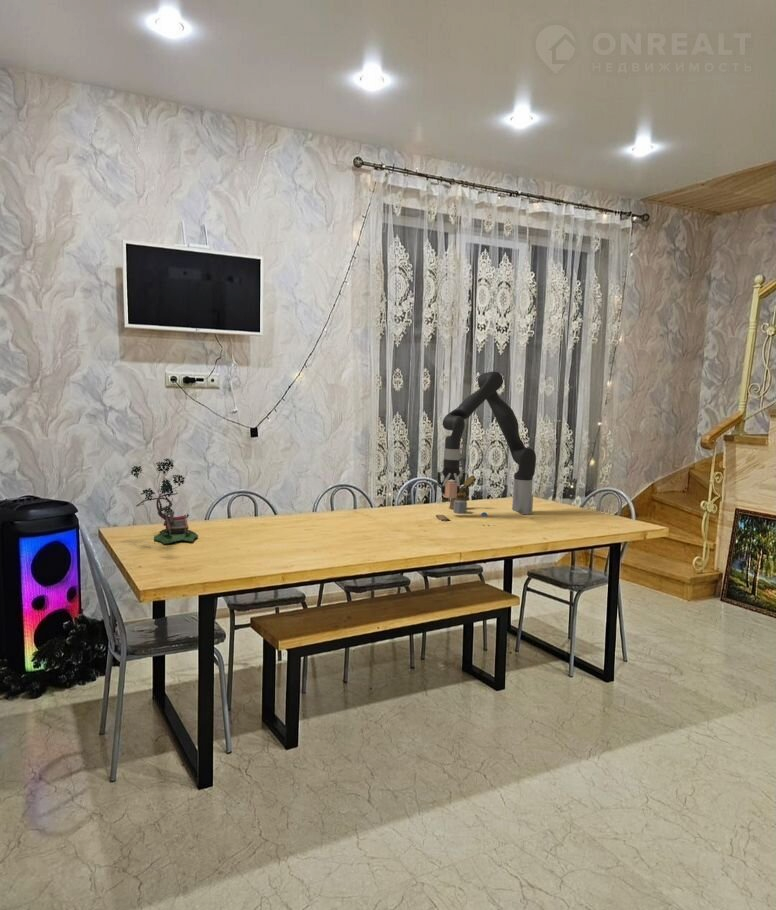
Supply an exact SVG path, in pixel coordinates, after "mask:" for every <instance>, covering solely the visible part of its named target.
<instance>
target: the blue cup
mask: <svg viewBox="0 0 776 910" xmlns="http://www.w3.org/2000/svg"><path fill="white" fill-rule="evenodd" d="M467 507H468V500H467V501H464V500H455V501H454V510H453V513H454V514H457V515H458V514H459V515H464V514H467V509H468V508H467Z"/></svg>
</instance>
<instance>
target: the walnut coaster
mask: <svg viewBox="0 0 776 910" xmlns="http://www.w3.org/2000/svg"><path fill="white" fill-rule="evenodd" d="M435 517H437V518H436V519H438V520H439V521H440V520H441V521H452V520H451V519H450V518H448V517H447V516H445V515H444V514H435ZM441 521H440V522H441Z"/></svg>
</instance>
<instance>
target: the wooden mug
mask: <svg viewBox="0 0 776 910" xmlns="http://www.w3.org/2000/svg"><path fill="white" fill-rule="evenodd" d="M473 483H475V476H474V475H470V476H468V477H467V478H465V480H464V484H463V485H464V487H462V488H459V493H458V494H457V498H450V501H449V502H450V503H449V507H448V509H449V510H453V511H454V501H455V500H464V501H467V502H468V499H469V496H470V489H469V487H470V488H471V486H472V485H473Z"/></svg>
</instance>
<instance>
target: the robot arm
mask: <svg viewBox="0 0 776 910" xmlns="http://www.w3.org/2000/svg"><path fill="white" fill-rule="evenodd" d="M503 383H504V378H503V375H502V374H501V373H500V372H499V371H489V372H487V371H486V372H483V373H481V374H480V375H479V376H478V377H477V385H478V388H479V389H477V390H476V391H474V392H473V393H471V394H470V395H469V396H468V397H466V398H465V399H464V400H463V401H462V402H461V403H460V404H459V406H458V407H457V408H455V409H453V410H452V411H450V412H448V413H447V414H446V415H445V416H444V418H443V420H442V427H443V428H444V430H445V431H452V432H451V434H450V435H447V436H446V437H445V438H444V439H445V440H444V452H443V464H442V465H443V467H442V471H436V472H435V473H436V481H437V485H439V486H441V487H440V488H441V489H440V493H442V495H443V494H445V484H446V482H447V481H454V482H456V483H457V494H458V493H459V489H461V488H460V487H461V486H463V485H464V484H465V481H466V474H467V473H466V472H464V471H460V462H461V439H462V437H463V433H464V430H465V425H466V424H465V420H467V419H469V418H470V417H471V416H472V414H474V412H475V411H476V410H477V409H478V408H479V407H480V406H481V405H482V404H483V402H485V401H487V403H488V405H489V408H490V409H491V411H492V413H493V415H494V417H495V420H496V422H497V424H498V426H499V429H500V431H501V433H502V435H503V437H504V439H505V441H506V443H507V445H508V448H509V449H508V450H509V451H510V455H511V457H512V459H513V461H514V463H516V464H517V465H518V470H517V471H516V472H514V474H513V491H512V503H511V504H512V507H511V511H514V512H516V513H519V514H521V515H523V514H526V515H532V514H533V507H534V494H533V481H534V480H533V479H534V476H535V474H536V473H535V472H536V464H537V463H536V462H537V455H536V451H535V450H534V449H533V448H531V447H526V446H525V445H524V443H523V441H522V439H521V437H520V433H519V432H520V431H519V428H520V427H519V422H518V419H517V416H516V414H515V412H514V409H512V408H511V406H509V405H508V403H506V402H505V401H504V400H503V399H502V398H501V397H500V395H499V394H498V392H497V391H498V390H500V389H501V387H502V386H503ZM442 476H443V478H442ZM459 476H460V479H458V477H459ZM441 478H442V480H441Z"/></svg>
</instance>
